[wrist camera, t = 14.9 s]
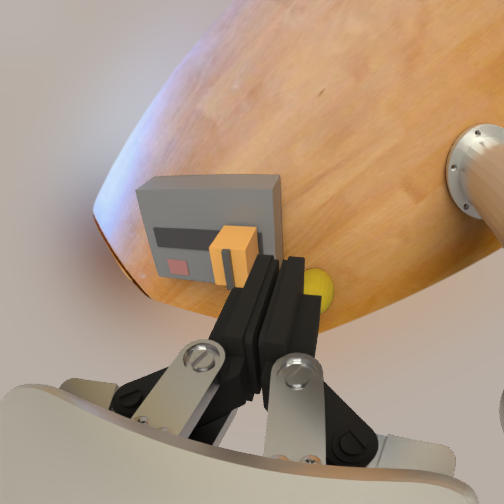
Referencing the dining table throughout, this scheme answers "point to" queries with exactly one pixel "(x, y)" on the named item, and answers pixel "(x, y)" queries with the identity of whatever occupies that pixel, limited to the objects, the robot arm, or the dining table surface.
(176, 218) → the switch panel
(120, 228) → the dining table surface
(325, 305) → the lemon
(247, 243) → the orange block
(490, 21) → the dining table surface
